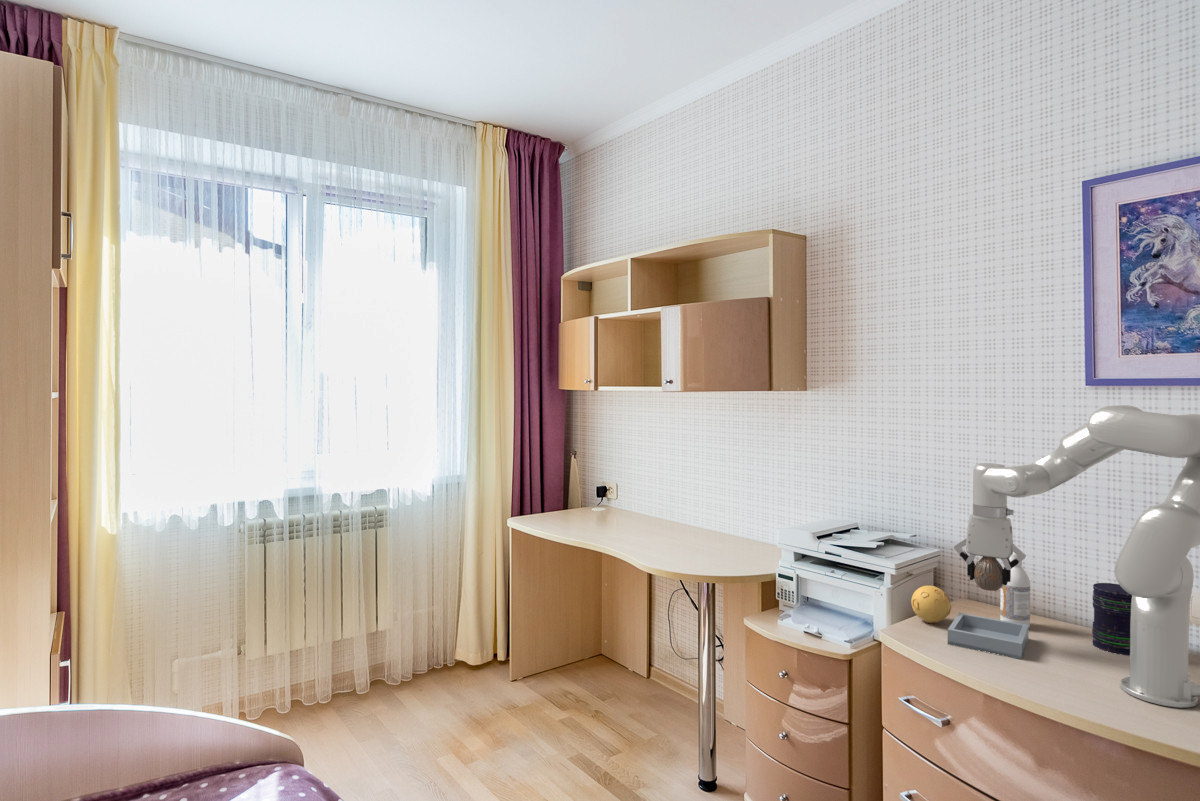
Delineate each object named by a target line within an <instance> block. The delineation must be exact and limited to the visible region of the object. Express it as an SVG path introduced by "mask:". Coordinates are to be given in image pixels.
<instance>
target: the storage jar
mask: <svg viewBox="0 0 1200 801" xmlns="http://www.w3.org/2000/svg"><path fill="white" fill-rule="evenodd" d="M1092 589H1093V591H1092V607H1093V622H1092V629H1091V634H1092V643H1093V644H1092V646H1094V647H1095V648H1096V647H1097V648H1096V649H1098V648H1099V649H1098V650H1101V651H1103V650H1104V652H1106V651H1108V652H1107V653H1110V652H1111V653H1110V654H1114V653H1116V654H1115V655H1120V654H1122V655H1121V656H1129V655H1130V622H1131V600H1132V595H1131V594H1129V593H1128V592H1126V591H1125V590H1124V589H1123V588H1122V587H1121V586H1120V585H1119V583H1112V582H1111V583H1110V582H1100V583H1099V582H1096V583H1094V584H1093V585H1092Z"/></svg>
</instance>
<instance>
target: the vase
mask: <svg viewBox="0 0 1200 801" xmlns="http://www.w3.org/2000/svg"><path fill="white" fill-rule="evenodd" d="M1003 569H1004V566H1002V564H1001V563H1000V562H999V560H998V558H992V557H985V556H981V558H980V559H979V560H978V561H977V562H976V563H975V568H974V579H973V580H974V581H975V584H976V585H977V586H978V588H980V589H981V590H984V591H991V592H997V591H1000V588H1001V587H1002V586H1003Z"/></svg>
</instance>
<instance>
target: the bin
mask: <svg viewBox="0 0 1200 801" xmlns="http://www.w3.org/2000/svg"><path fill="white" fill-rule="evenodd" d="M1029 628H1030V627H1029V625H1025V624H1020V623H1014V622H1009V621H1003V620H1000V619H998V618H991V617H987V616H981V615H980V616H979V615H975V614H970V613H963V612H958V614H957V616H956V617H955V618H954V619H953V620H952V623H951V624H950V625H949V626H948V628H947V645H949V644H950V646H954V645H955V646H954V647H960V648H963V647H964V649H968V648H969V650H973V649H974V651H978V650H980V651H979V652H983V651H986V652H985V653H987V652H990V653H989V654H992V653H995V654H994V655H997V654H999V655H998V656H1002V655H1004V656H1003V657H1006V656H1008V658H1012V659H1016V660H1021V661H1022V660H1023V657H1024V653H1025V650H1026V648H1027V645H1028V642H1029Z"/></svg>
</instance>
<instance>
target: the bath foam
mask: <svg viewBox="0 0 1200 801" xmlns="http://www.w3.org/2000/svg"><path fill="white" fill-rule="evenodd" d="M1016 557H1017V555H1016V554H1015V553H1014V552H1013V554H1012V555H1011V557H1010V558H1009V560H1010V562H1011V561H1012V560H1014V559H1015V558H1016ZM1022 565H1023V560H1022V561H1021V562H1020V563H1018V564H1017V565H1016V566H1014V567H1013V568H1012V569H1011V580H1010V582H1008V583H1007V585H1003V586H1002V587H1001V588H1000V589H999V591H1000V593H999V594H1000V597H999V598H1000V604H999V608H1000V609H999V610H1000V611H999V614H1000V615H999V616H1000V619H999V620H1003V621H1009V622H1014V623H1020V624H1025V625H1029V628H1030V627H1031V581H1030V578H1029V575H1028V573H1027V572H1026V571H1025V569H1024V568H1023V566H1022Z"/></svg>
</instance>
